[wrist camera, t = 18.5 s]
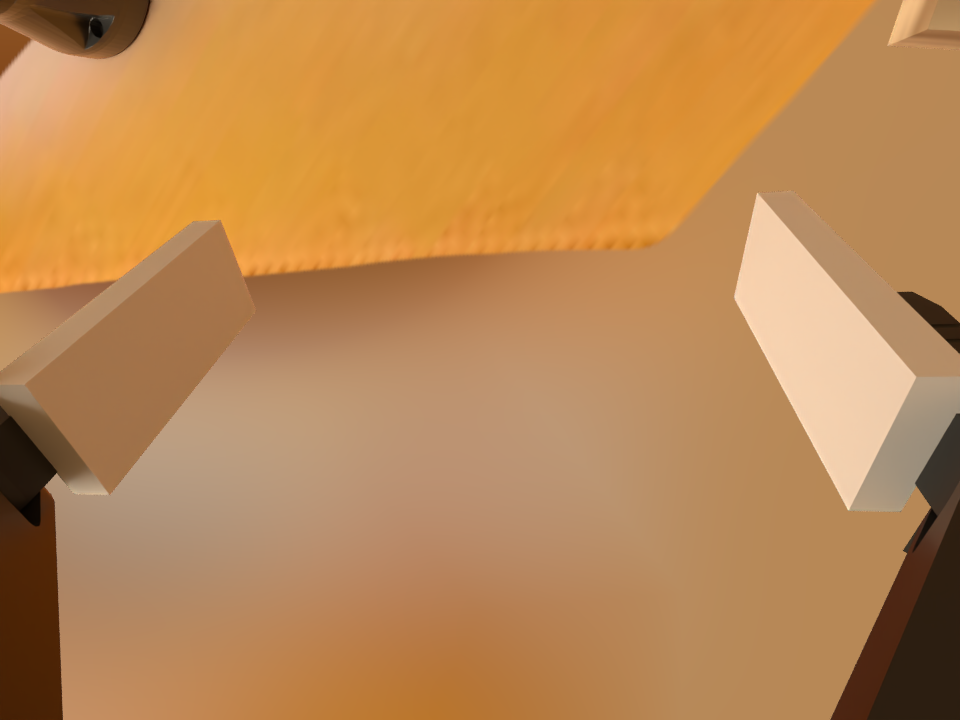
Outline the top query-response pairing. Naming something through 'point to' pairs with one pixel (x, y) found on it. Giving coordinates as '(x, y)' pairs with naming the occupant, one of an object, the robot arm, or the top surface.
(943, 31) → the birch batten
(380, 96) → the top surface
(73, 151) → the top surface
